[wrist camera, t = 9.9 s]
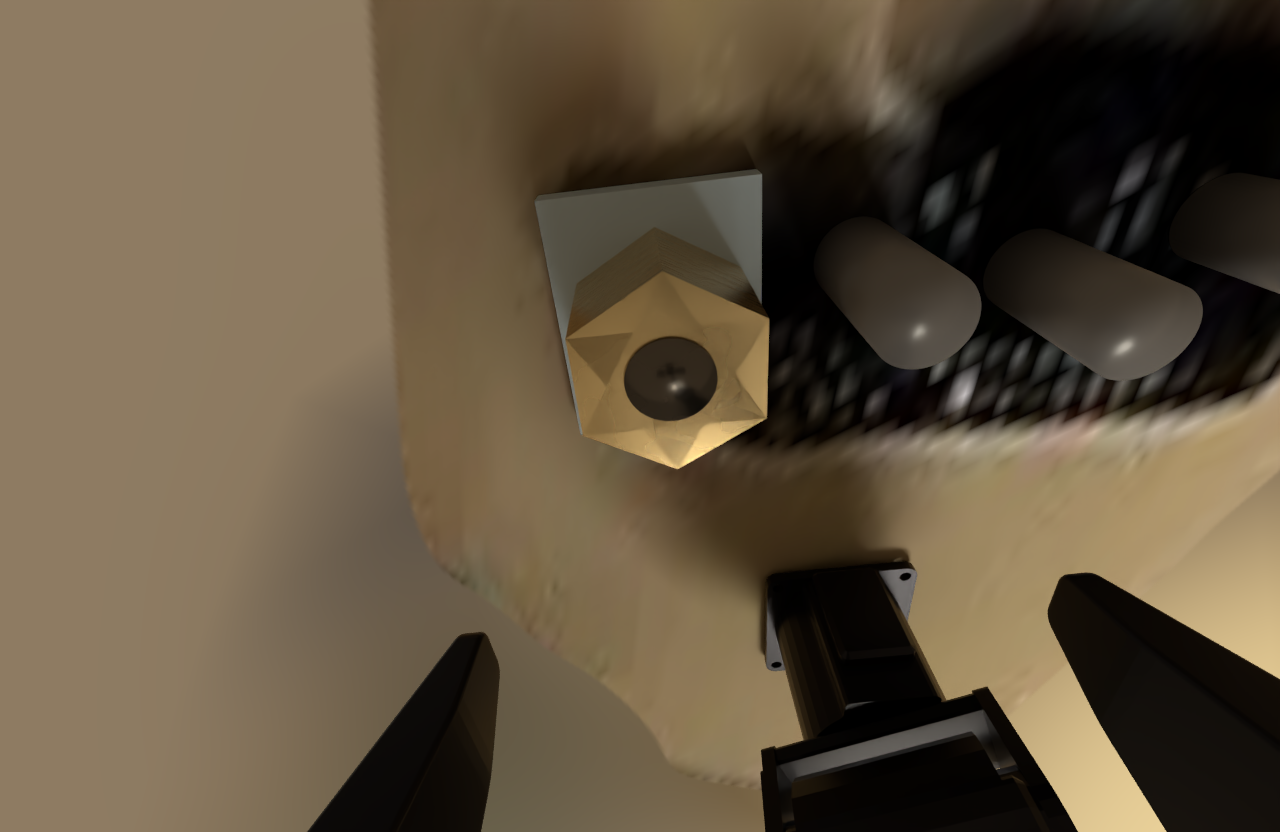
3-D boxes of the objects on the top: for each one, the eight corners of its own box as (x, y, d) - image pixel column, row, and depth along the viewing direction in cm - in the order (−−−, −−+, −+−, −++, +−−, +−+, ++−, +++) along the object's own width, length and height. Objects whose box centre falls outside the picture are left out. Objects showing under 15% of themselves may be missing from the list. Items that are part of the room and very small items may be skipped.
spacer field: (1226, 284, 19) (1399, 351, 15) (810, 330, 19) (861, 407, 15) (1553, -440, 11) (2119, -741, 7) (845, -333, 12) (971, -553, 7)
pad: (756, 404, 21) (760, 416, 20) (581, 422, 21) (580, 434, 20) (756, 169, 17) (762, 173, 16) (538, 195, 17) (534, 201, 16)
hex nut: (741, 390, 20) (766, 462, 16) (596, 404, 20) (590, 478, 16) (740, 217, 17) (771, 261, 13) (568, 236, 17) (554, 283, 13)
